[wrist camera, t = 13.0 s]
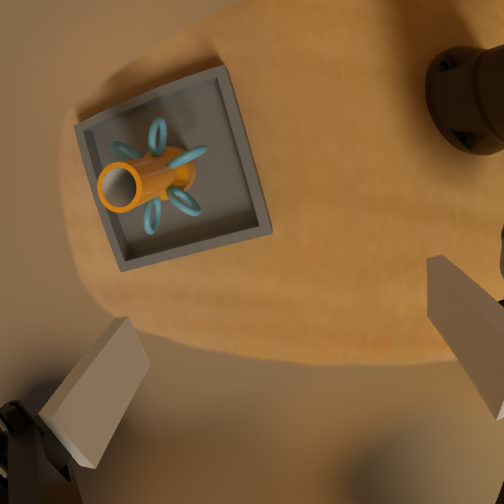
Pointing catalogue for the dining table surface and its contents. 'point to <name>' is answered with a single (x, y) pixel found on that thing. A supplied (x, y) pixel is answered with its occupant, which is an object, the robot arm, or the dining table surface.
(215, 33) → the dining table surface
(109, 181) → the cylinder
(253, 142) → the dining table surface
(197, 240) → the tray
